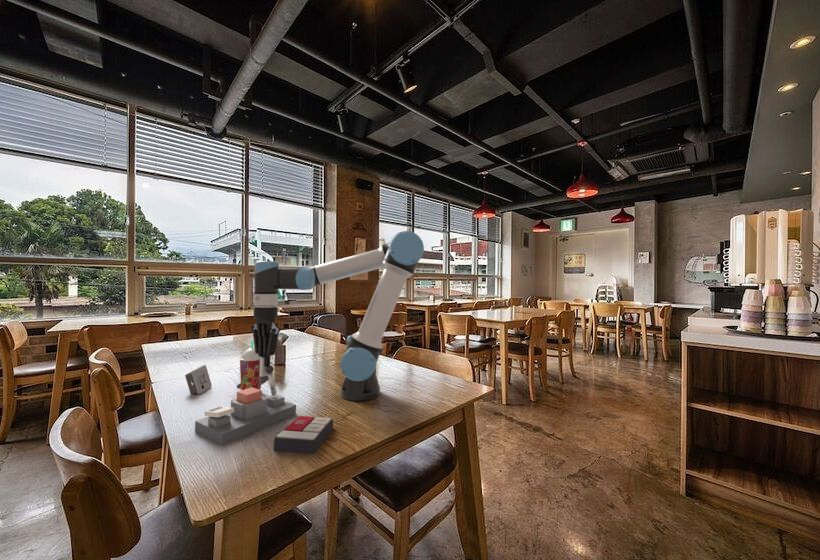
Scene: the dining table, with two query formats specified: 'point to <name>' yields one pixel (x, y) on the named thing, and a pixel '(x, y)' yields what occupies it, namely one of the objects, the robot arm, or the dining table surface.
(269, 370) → the toggle lever
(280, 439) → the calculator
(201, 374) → the electrical switch
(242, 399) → the push button
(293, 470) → the dining table surface
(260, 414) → the switch panel
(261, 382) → the phone
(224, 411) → the rocker switch
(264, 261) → the robot arm
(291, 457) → the dining table surface
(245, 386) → the smoothie
